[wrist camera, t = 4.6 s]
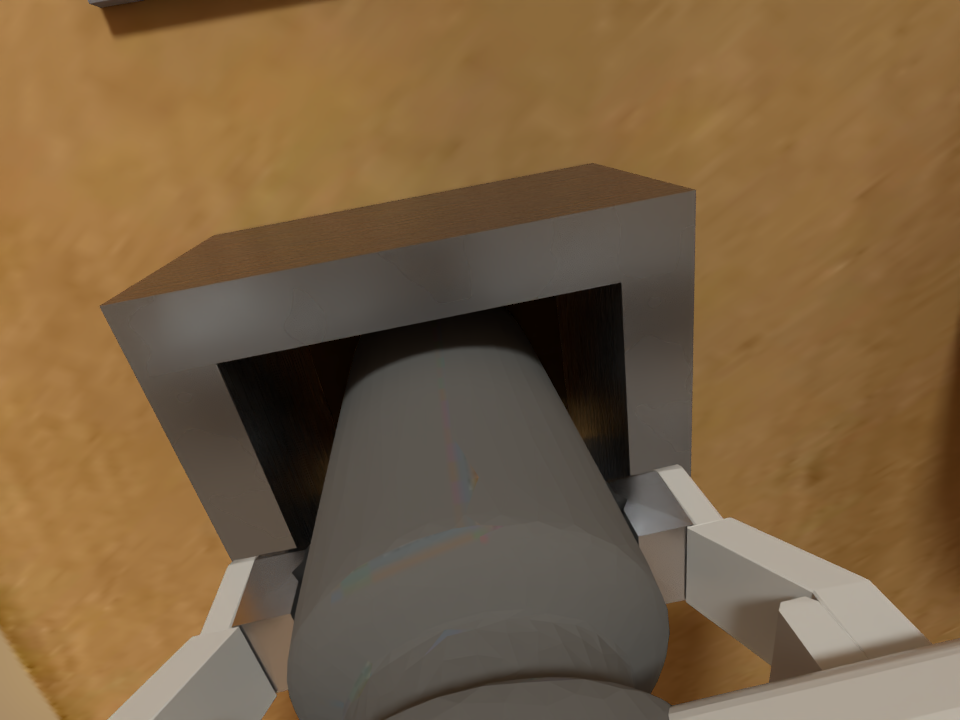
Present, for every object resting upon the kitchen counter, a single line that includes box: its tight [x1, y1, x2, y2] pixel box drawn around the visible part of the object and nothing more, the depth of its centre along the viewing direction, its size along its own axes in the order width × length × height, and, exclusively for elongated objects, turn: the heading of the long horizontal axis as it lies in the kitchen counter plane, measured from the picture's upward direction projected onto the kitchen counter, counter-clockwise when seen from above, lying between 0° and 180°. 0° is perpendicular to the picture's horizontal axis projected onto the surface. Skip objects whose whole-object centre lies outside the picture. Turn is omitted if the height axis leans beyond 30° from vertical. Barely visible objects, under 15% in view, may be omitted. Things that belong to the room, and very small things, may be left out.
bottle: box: [287, 306, 672, 720], centre depth 11 cm, size 6×6×15 cm
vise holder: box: [100, 163, 696, 562], centre depth 16 cm, size 17×11×6 cm, turn 10°
